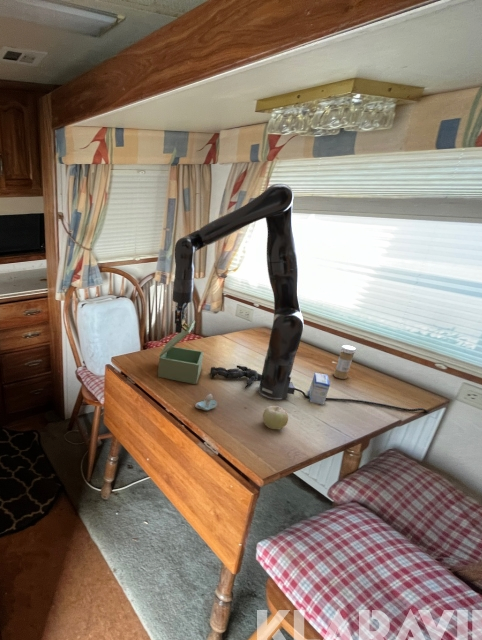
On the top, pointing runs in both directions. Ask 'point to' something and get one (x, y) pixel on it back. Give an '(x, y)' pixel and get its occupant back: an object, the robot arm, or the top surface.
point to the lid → (178, 337)
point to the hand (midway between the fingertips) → (179, 329)
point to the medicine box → (319, 388)
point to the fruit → (275, 417)
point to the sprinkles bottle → (344, 361)
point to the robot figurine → (236, 374)
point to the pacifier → (206, 403)
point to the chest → (181, 365)
